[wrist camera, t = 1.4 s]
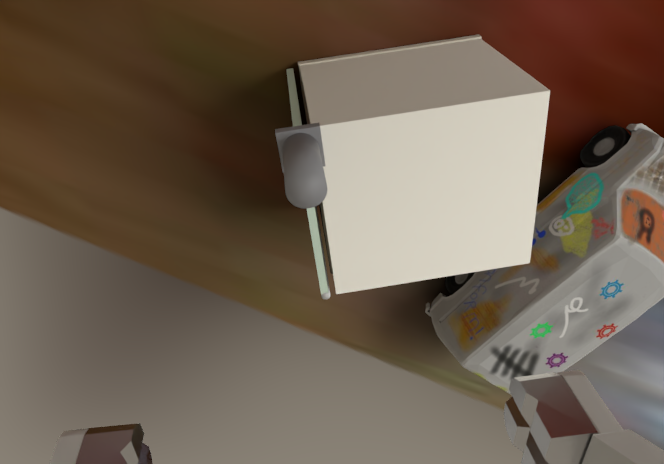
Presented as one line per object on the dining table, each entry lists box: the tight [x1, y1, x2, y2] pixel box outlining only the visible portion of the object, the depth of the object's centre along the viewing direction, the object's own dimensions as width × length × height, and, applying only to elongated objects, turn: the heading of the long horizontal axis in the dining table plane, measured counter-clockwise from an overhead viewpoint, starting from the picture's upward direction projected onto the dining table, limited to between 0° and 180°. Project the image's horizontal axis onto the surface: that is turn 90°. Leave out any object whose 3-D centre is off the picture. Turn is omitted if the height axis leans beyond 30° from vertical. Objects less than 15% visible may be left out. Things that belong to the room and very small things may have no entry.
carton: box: [298, 35, 550, 294], centre depth 37 cm, size 13×12×12 cm
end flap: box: [275, 68, 330, 299], centre depth 35 cm, size 2×12×17 cm, turn 7°
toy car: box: [425, 123, 664, 394], centre depth 46 cm, size 11×25×10 cm, turn 141°
